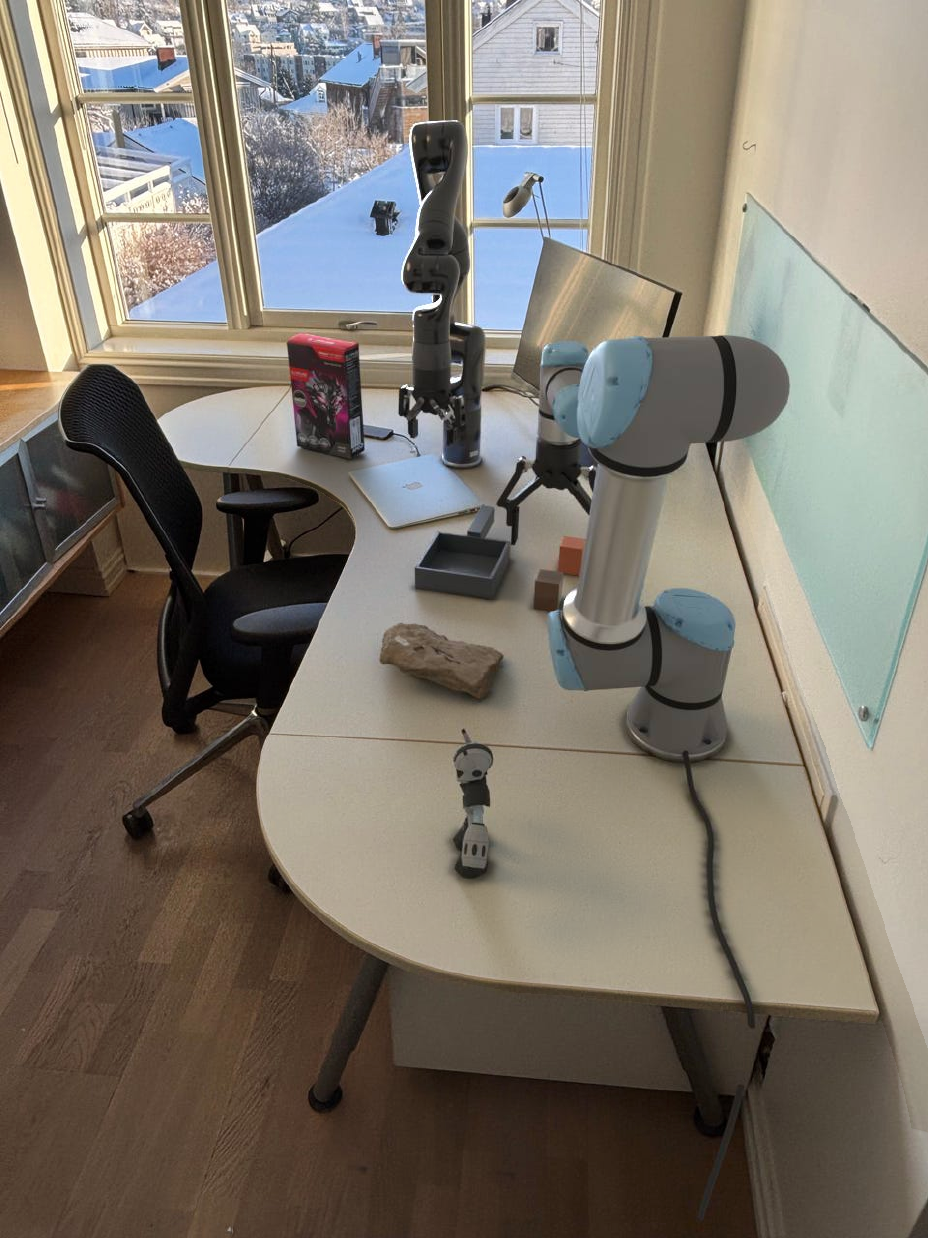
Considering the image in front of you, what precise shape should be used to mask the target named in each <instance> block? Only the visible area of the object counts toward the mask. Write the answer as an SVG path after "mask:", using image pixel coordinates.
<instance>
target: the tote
mask: <svg viewBox="0 0 928 1238" xmlns="http://www.w3.org/2000/svg"><path fill="white" fill-rule="evenodd" d="M495 511H496V509H495V506H490V505H484V504H483V505H481V506H480V508H479V509H478V511H477V514H476V515H475V517H474V519H473V520H472V521H471V524H470V525H469V527H468V529H467V531H466V534H463V533H462V534H461V533H455V532H447V531H441V530H440V531H439V530H437V531H436V533H435V534H434V536H433V537H432V539H431V541H430V542H429V543H428V545H427V547H426V548H425V550H424V552H423V553H422V555H421V556H420V557H419V560H418V561H417V563H416V565H415V566H414V588H415V589H417V590H424V591H431V592H438V593H444V594H451V595H457V596H464V597H470V598H476V599H483V600H491V601H492V600H493V599H494V596H495V594H496V591H497V590H498V588H499V585H500V583H501V581H502V579H503V576H504V575H505V572H506V570H507V568H508V566H509V564H510V560H511V540H506V539H505V540H504V539H498V538H491V537H487V536H488V534H489V532H490V531H491V528H492V527H493V524H494V523H495Z"/></svg>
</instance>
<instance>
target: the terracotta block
mask: <svg viewBox="0 0 928 1238" xmlns="http://www.w3.org/2000/svg"><path fill="white" fill-rule="evenodd" d="M584 544H585V538H583V537H575V536H568V535H563V537H562V539H561V541H560V544H559V551H558V564H557V572H564V574H565V575H571V576H577V577H579V575H580V569H581V562H582V556H583V550H584ZM564 574H563V575H564Z"/></svg>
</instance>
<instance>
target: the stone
mask: <svg viewBox="0 0 928 1238" xmlns="http://www.w3.org/2000/svg"><path fill="white" fill-rule="evenodd" d="M381 642H382V646H381V648H380V654H379V662H380V663H379V664H381V665H393V666H395V667H397V668H398V669H399V670H400V672H402V673H404V674H409V675H413V676H414V677H417V678H422V679H427V680H428V681H431V682H433V683H436V684H438V685H441V686H443V687H446V688H448V689H450V690H452V691H455V692H465V693H467V694H469V695H471V696H472V697H474V698H476V699H484V698H486V697H487V695H488V694H489V691H490V689H491V687H492V680H493V678H494V676H495V673H496V672H497V669H498V668H499V666H500V663H501V662H502V661H503V659H504V658H505V655H504V654H503V653H502V652H500V651H498V650H497V649H495V648H494V647H490V646H486V645H480V644H474V643H468V642H465V641H462V640H460V641H458V640H453V639H452V640H451V639H448V638H447V636H446V635H443V634H437V632H435V630H432V629H430V628H429V626H427V625H423V624H418V623H403V622H399V623H397V624H394V625H393V626H391V627H389V628H388V629H386V630H385V631H384V633H383V635H382V638H381Z"/></svg>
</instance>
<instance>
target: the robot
mask: <svg viewBox="0 0 928 1238" xmlns="http://www.w3.org/2000/svg"><path fill="white" fill-rule="evenodd" d="M461 734H462V737H463V739H464V742H465V744H463V745H461V746H460V747H459V748H458V749H457V750H456V751H455V753H454V756H453V757H452V760H453V768H455V772H456V774H455V775H456V781H457V782H458V783H459V786H460V789H461V791H462V793H463V794H462V809H464V812H465V814H466V817H465V818H464V821H463V823H462V826H461V827H460V829H459V830H458V831H457V833H456V834H455V835H454V837H453V838H452V841H453V843H454V846H455V847H456V849H457V850H459V851H460V853H459V855H458V858H457V859H456V863H455V865H454V870H455V871H456V872H457V873H458V874H459V875H460V876H461V877H464V878H468V879H472V878H477V877H479V876H481V875H483V874H486V873H487V872H488V867H489V863H490V862H489V848H490V834H489V831H488V826H486V824H485V823H484V818H483V817H484V816H483V815H484V813H485V812H484V810H485V809H484V806H485V807H487V808H491V792H490V788H489V785H488V784H487V775H488V771H489V769H491V768H492V766H493V764H494V755H493V751H492V750H491V749H490V747H488V746H487V745H486V744H484V743H482V742H479V741H476V740H475V741H472V740H471V738H470V736H469V735H468V733H467V730H466V729H465V728H462V729H461Z"/></svg>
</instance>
